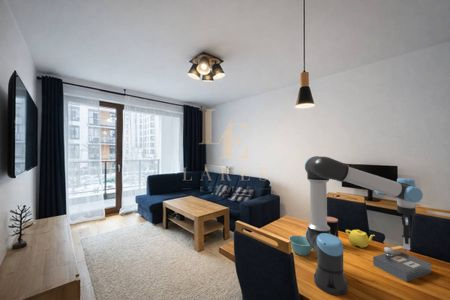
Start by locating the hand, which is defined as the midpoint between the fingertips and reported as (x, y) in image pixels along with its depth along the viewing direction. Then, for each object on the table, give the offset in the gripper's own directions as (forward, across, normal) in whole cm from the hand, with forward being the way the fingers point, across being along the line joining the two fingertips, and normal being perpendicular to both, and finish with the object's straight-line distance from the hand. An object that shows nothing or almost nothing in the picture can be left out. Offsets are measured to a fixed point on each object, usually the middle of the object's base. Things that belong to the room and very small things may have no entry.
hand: (406, 249), depth 107 cm
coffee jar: (+14, +11, +41) cm, 44 cm away
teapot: (+13, +21, +24) cm, 35 cm away
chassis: (+13, +2, +2) cm, 13 cm away
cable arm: (+6, +11, +4) cm, 13 cm away
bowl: (+14, -16, +52) cm, 56 cm away
